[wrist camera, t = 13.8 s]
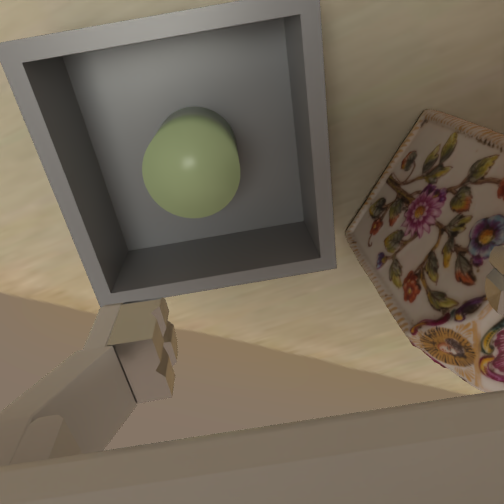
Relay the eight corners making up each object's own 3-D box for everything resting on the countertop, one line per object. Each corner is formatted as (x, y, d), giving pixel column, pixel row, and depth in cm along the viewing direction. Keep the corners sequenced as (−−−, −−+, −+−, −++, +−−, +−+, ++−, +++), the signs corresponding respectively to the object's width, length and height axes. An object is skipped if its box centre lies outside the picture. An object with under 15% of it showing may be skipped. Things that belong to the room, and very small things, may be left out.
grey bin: (46, 41, 26) (-7, 43, 20) (294, -3, 26) (318, -14, 20) (122, 257, 34) (100, 308, 28) (314, 224, 34) (336, 268, 27)
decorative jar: (424, 101, 30) (661, 181, 14) (538, 168, 33) (838, 296, 17) (337, 237, 34) (439, 413, 19) (444, 284, 37) (610, 469, 22)
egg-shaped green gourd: (147, 113, 28) (129, 132, 22) (229, 100, 28) (231, 115, 22) (167, 192, 30) (156, 225, 25) (242, 179, 30) (247, 210, 25)
